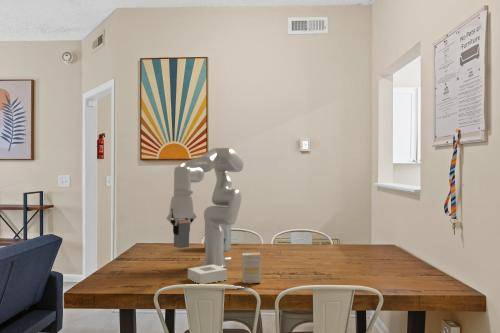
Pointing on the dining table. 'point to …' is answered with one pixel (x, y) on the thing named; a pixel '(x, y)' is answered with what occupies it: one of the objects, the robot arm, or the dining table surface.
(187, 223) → the grey cylinder
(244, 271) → the supplement box
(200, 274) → the socket block
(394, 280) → the dining table surface
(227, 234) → the hard drive box
